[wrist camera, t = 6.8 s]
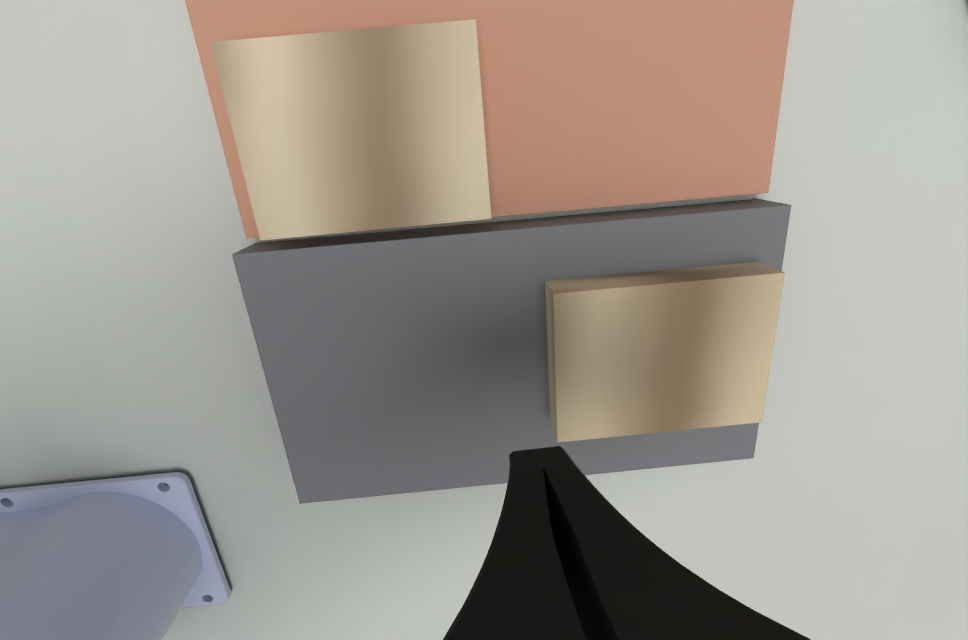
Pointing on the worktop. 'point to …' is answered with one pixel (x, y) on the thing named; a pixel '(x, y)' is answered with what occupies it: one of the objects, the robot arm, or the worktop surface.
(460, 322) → the grey board
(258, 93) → the inner tile
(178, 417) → the worktop surface
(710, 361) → the outer tile
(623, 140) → the mat
